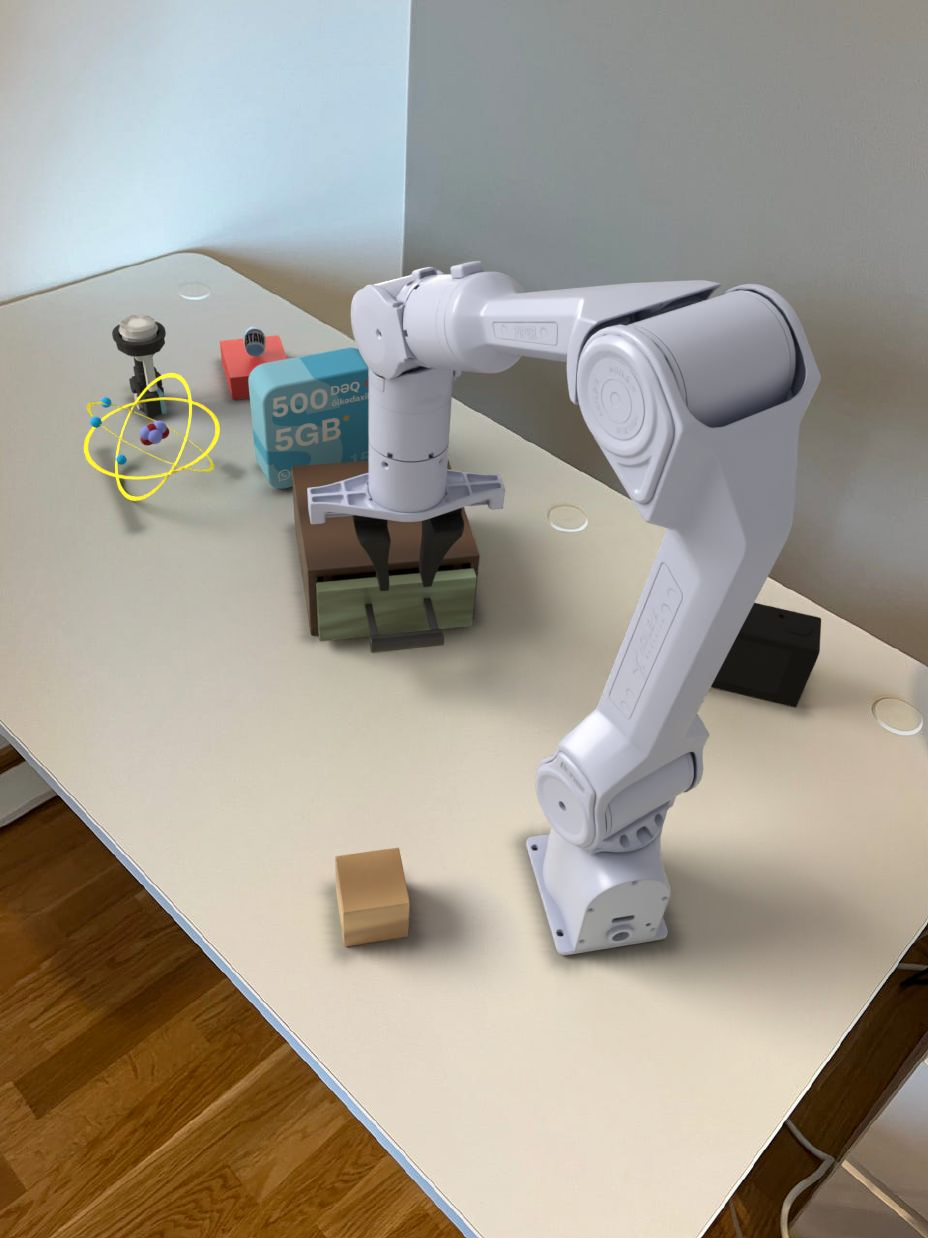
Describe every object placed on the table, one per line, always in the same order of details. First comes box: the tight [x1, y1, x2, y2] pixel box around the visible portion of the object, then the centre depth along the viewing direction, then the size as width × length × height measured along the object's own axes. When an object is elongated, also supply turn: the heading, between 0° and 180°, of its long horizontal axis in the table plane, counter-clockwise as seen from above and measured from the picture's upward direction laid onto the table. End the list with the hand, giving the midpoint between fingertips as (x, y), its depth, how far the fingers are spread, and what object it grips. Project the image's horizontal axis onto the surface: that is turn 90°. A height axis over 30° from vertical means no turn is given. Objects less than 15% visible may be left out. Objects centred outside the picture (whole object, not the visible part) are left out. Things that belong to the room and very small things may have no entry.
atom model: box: [83, 372, 221, 502], centre depth 104 cm, size 14×15×14 cm
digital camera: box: [710, 602, 822, 708], centre depth 91 cm, size 10×5×7 cm, turn 74°
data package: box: [248, 346, 369, 490], centre depth 107 cm, size 12×4×12 cm, turn 116°
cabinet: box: [291, 459, 481, 636], centre depth 97 cm, size 15×15×8 cm
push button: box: [111, 314, 167, 419], centre depth 114 cm, size 7×5×10 cm
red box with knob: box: [219, 326, 288, 401], centre depth 120 cm, size 8×7×6 cm
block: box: [334, 847, 411, 947], centre depth 73 cm, size 4×4×4 cm
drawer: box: [316, 564, 477, 654], centre depth 94 cm, size 19×13×6 cm
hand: (404, 580), depth 85 cm, fingers open, 3 cm apart
